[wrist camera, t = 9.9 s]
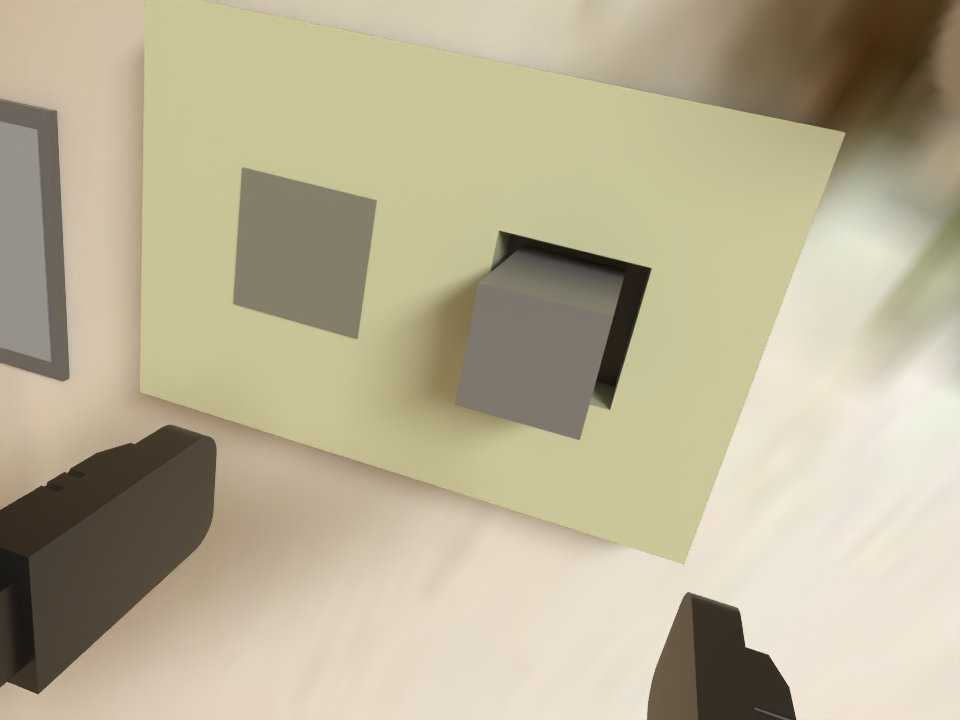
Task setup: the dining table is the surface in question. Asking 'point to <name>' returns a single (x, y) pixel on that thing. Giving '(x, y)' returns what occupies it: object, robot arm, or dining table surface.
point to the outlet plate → (456, 257)
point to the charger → (539, 339)
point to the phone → (31, 243)
